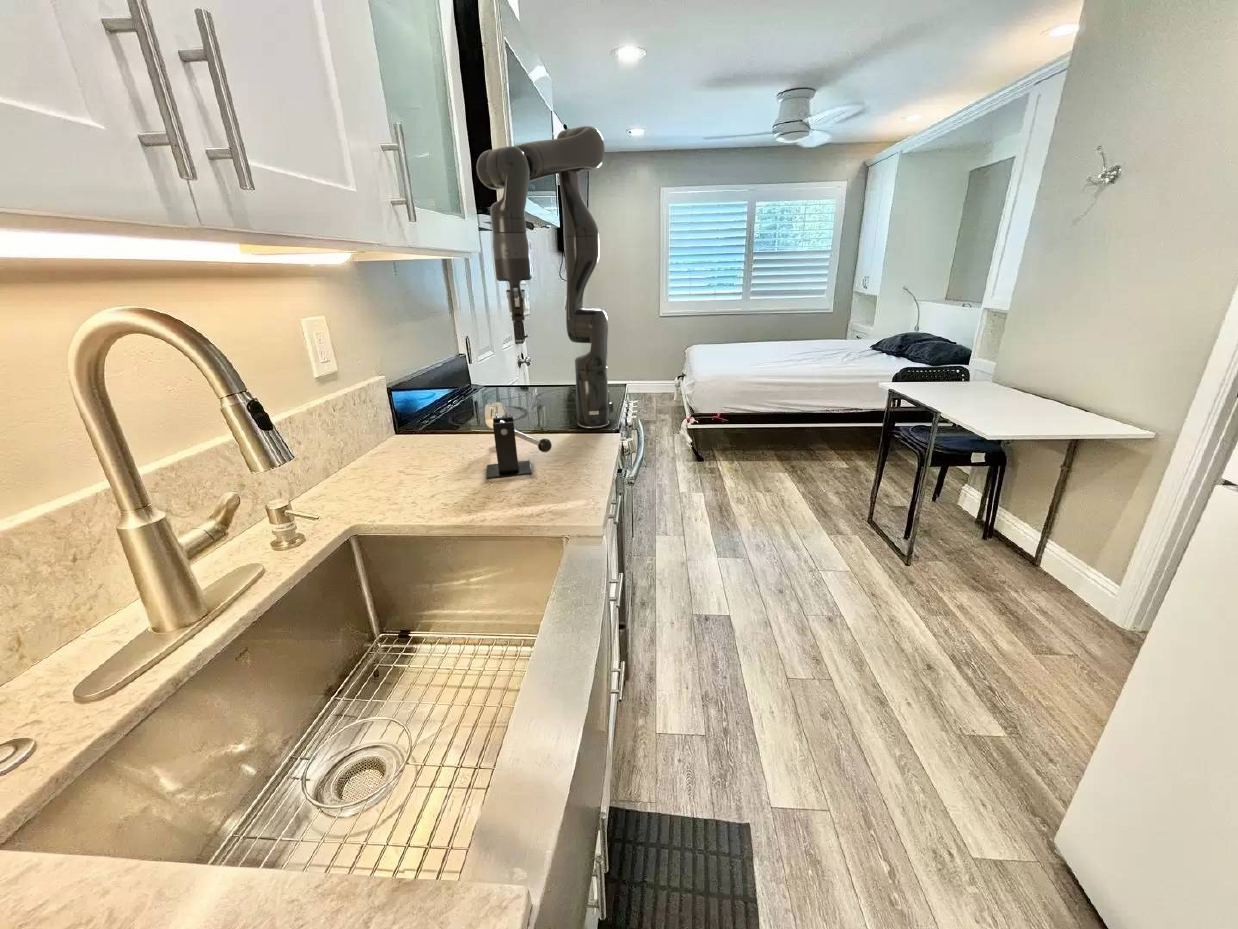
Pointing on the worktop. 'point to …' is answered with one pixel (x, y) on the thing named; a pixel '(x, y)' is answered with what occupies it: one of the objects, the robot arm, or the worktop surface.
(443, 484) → the worktop surface
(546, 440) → the tap lever
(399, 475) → the worktop surface
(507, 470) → the black lever stand
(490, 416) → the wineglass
